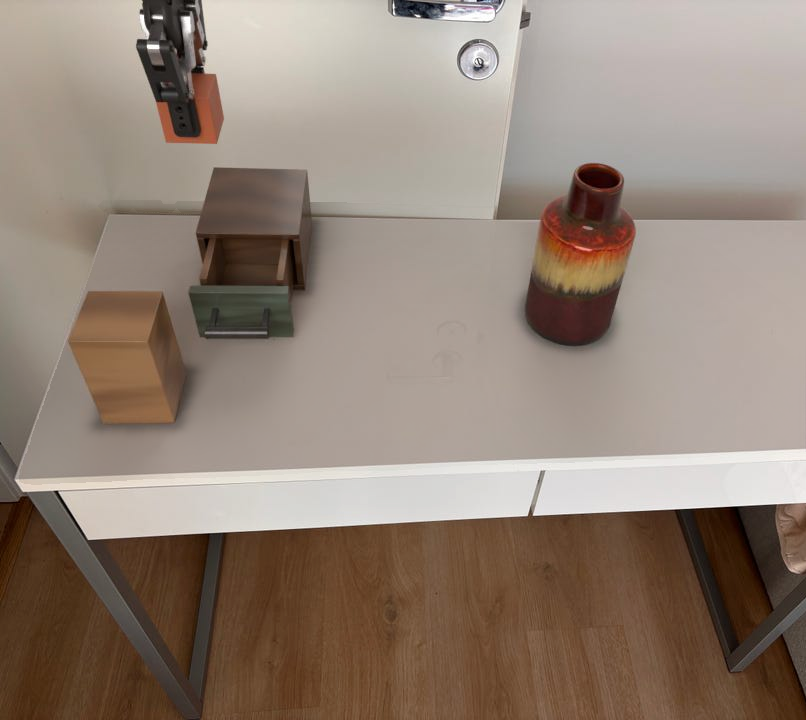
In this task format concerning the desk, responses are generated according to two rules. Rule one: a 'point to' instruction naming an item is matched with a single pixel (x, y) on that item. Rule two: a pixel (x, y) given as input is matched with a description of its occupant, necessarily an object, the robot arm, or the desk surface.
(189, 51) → the robot arm
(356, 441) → the desk surface
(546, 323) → the vase
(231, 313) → the drawer
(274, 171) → the cabinet
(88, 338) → the stand
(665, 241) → the desk surface
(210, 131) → the block
